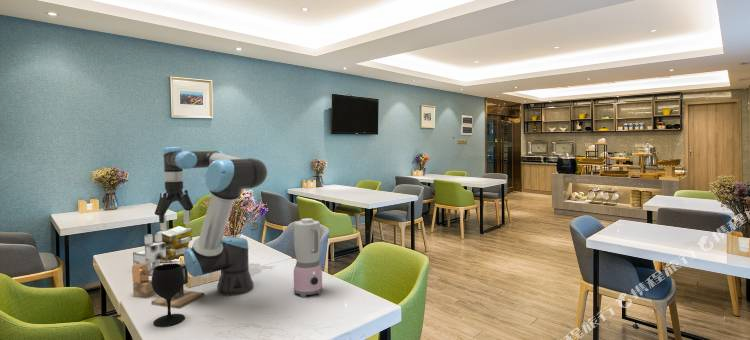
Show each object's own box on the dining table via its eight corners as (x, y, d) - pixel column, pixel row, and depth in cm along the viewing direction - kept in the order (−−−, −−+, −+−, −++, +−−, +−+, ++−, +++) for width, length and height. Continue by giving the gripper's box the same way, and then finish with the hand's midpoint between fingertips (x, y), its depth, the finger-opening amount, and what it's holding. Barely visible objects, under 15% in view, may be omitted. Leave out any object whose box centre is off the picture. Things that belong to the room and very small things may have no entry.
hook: (177, 283, 167) (176, 266, 166) (169, 286, 163) (168, 270, 162) (141, 278, 173) (140, 263, 172) (132, 282, 168) (132, 266, 168)
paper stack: (205, 256, 231) (204, 227, 230) (160, 265, 212) (159, 235, 211) (186, 249, 247) (185, 222, 246) (143, 257, 228) (141, 228, 227)
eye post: (188, 294, 168) (187, 264, 167) (173, 301, 160) (172, 269, 159) (183, 293, 169) (182, 263, 168) (168, 300, 161) (167, 269, 160)
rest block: (156, 293, 171) (155, 280, 171) (146, 298, 166) (145, 284, 166) (143, 292, 173) (143, 279, 173) (133, 296, 168) (132, 283, 168)
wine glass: (177, 312, 152) (175, 261, 151) (190, 319, 145) (188, 266, 144) (148, 321, 144) (146, 267, 143) (160, 329, 137) (158, 273, 136)
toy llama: (145, 267, 210) (143, 229, 208) (166, 271, 202) (165, 233, 200) (130, 271, 203) (129, 232, 202) (152, 276, 195) (150, 236, 194)
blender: (289, 290, 174) (288, 218, 172) (314, 285, 181) (313, 215, 179) (303, 302, 161) (302, 224, 159) (330, 296, 168) (329, 221, 166)
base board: (204, 295, 169) (204, 292, 169) (179, 308, 156) (179, 305, 156) (178, 292, 173) (178, 289, 173) (151, 304, 160) (151, 301, 160)
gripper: (187, 178, 193) (189, 221, 195) (144, 183, 170) (146, 232, 171) (200, 178, 191) (201, 222, 192) (157, 183, 167) (159, 233, 169)
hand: (175, 227), depth 182 cm, fingers open, 13 cm apart
